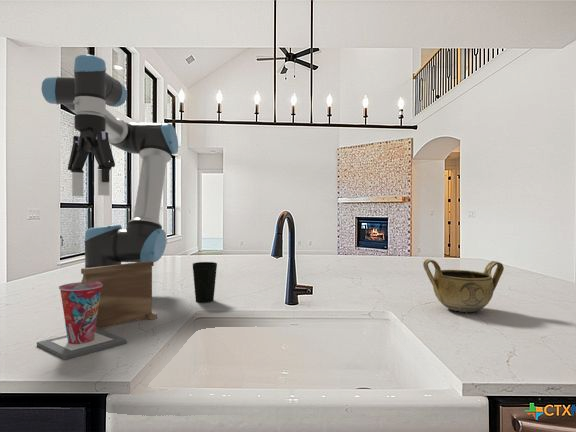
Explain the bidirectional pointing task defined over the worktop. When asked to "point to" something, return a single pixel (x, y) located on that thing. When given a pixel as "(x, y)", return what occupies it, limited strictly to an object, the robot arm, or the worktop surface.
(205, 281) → the cup
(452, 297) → the ceramic bowl
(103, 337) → the mat
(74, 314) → the cup
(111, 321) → the screen
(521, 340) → the worktop surface
